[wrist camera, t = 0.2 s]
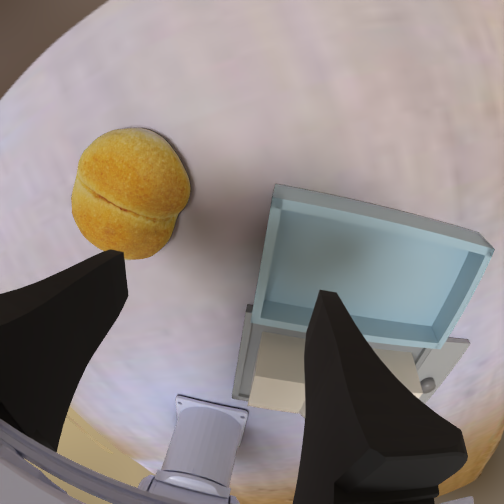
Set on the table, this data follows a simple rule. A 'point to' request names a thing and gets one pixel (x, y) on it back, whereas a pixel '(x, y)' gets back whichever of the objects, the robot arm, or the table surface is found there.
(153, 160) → the bread roll
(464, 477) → the table surface
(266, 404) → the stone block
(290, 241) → the blue bin
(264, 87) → the table surface
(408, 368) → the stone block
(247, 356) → the slate tray
